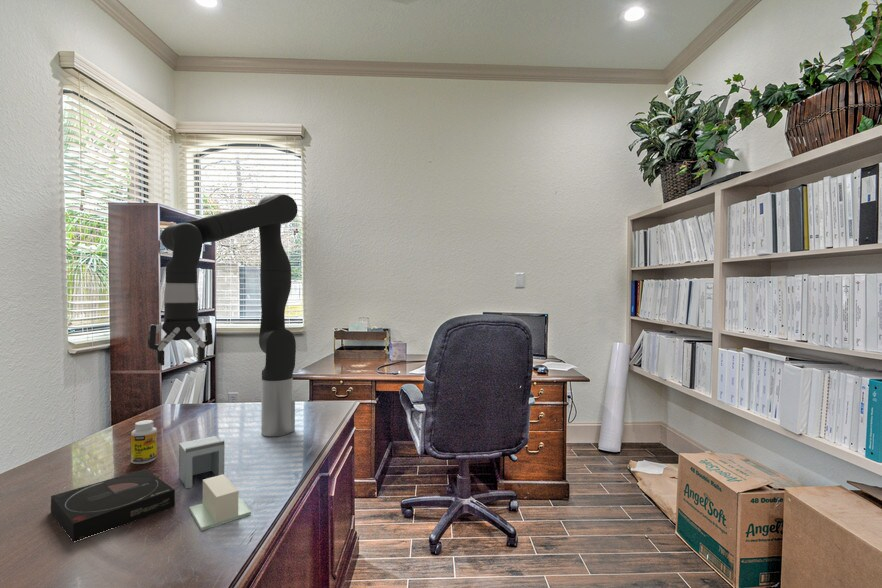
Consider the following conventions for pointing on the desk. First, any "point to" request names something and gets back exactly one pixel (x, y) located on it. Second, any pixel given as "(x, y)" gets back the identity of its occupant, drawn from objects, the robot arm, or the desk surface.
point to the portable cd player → (111, 503)
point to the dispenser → (200, 458)
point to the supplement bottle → (143, 442)
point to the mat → (207, 520)
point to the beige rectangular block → (220, 498)
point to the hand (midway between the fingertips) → (181, 363)
